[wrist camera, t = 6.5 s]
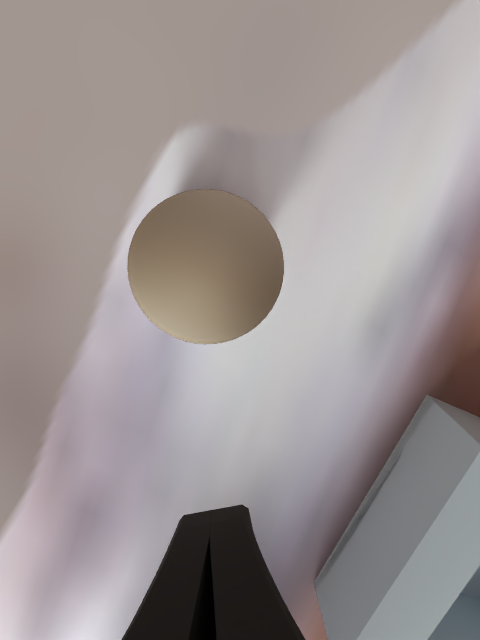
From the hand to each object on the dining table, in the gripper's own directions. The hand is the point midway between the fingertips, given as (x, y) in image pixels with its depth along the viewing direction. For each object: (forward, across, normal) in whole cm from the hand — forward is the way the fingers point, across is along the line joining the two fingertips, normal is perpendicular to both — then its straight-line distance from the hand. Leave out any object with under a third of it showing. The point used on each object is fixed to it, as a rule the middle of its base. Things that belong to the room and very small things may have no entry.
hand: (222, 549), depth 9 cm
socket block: (+10, -10, +11) cm, 18 cm away
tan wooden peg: (+10, -1, -5) cm, 11 cm away
